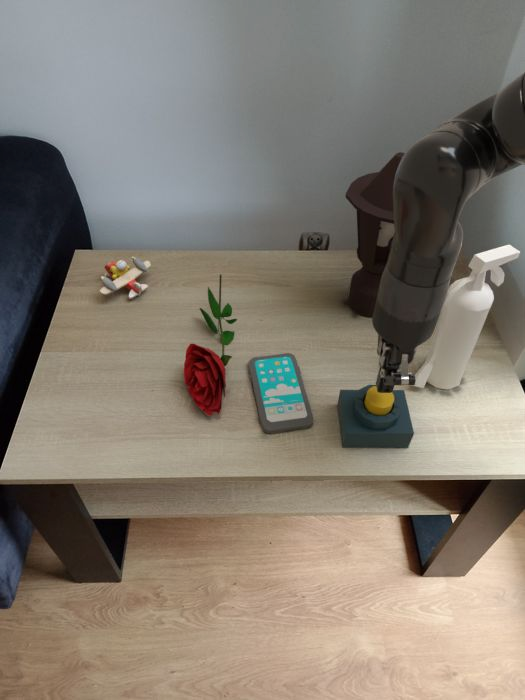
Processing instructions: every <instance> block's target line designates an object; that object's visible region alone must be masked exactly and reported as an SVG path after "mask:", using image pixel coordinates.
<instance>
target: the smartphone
mask: <svg viewBox="0 0 525 700" xmlns="http://www.w3.org/2000/svg"><path fill="white" fill-rule="evenodd" d="M300 369H301V368H300V366H299V364H298V361H297V358H296V356H295V354H293V353H291V352H290V353H289V352H286V353H285V352H284V353H278V354H270V355H263V356H254V357H252V358H250V359H249V361H248V373H249V376H250V382H251V384H252V389H253V394H254V398H255V403H256V408H257V412H258V417H259V421H260V426H261V428H262V430H263V431H264V432H265V433H266V434H277V433H283V432H290V431H291V432H292V431H296V430H297V431H298V430H304V429H309V428H311V427H312V426H313V425H314V415H313V410H312V407H311V404H310V401H309V398H308V393H307V391H306V388H305V384H304V381H303V377H302V372H301V370H300Z"/></svg>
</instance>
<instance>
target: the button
mask: <svg viewBox="0 0 525 700" xmlns="http://www.w3.org/2000/svg"><path fill="white" fill-rule="evenodd" d="M393 402H394V395H393V393H392V392H391V393H379V392H377V387H376V386H373V387H371V388H370V389H369V390H368V391H367V394H366V398H365V401H364V404H365V407H366V409H367V410H368V411H369V412H370V413H371V414H374V415H377V416H383V415H386V414H388V413H389V412H390V411H391V408H392V405H393Z"/></svg>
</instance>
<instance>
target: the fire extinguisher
mask: <svg viewBox="0 0 525 700" xmlns="http://www.w3.org/2000/svg"><path fill="white" fill-rule="evenodd" d="M520 254H521V251H520V250H518V248H515V247H514V246H513V245H511V244H506V245H503V246H498V247H495V248H492V249H489V250H485V251H482V252H478V253H475V254H474V255H472V256H473V257H472V258H471V260H470V262H469V264H468V265H467V266H468V268H470V269H471V272H470V274H469V275H468V276H467V277H466V276H465V277H462V278H459V279H457V280H454V282H453V283H451V284H450V285H449V289H448V293H447V296H446V299H445V302H444V304H443V307H442V310H441V313H440V315H439V318H438V321H437V324H436V326H435V329H434V332H433V335H432V340H431V342H430V346H429V350H428V351H427V355H426V358H425V362H424V363H423V364H422V365H421V366H420V368H419V369H418V370H417V372H416V373H415V374H414V376H415V379H416V382H415V385H411V386H412V387H416V388H420V389H424V388H425V386H426V383H428V384H429V385H431V386H433V387H434V388H435V389H440V390H441V389H442V390H446V391H447V390H448V391H450V390H452V389H454V388H457V387H459V386H460V384H461V382H462V379H463V376H464V375H465V371H466V369H467V367H468V364H469V362H470V359H471V356H472V354H473V352H474V350H475V347H476V344H477V342H478V339H479V337H480V336H481V335H480V334H481V333H482V330H483V327H484V325H485V322H486V319H487V318H488V315H489V313H490V310H491V308H492V305H493V302H494V300H495V296H494V291H493V289H492V288H491V287H490V285H489V283H487V282H485V281H486V274H487V272H488V271H490V281H491V282H492V283H493V284H494V285H495V286H496V287H500V286H501V285H503V283H504V282H505V275H506V274H505V272H504V269H503V268H502V267H500V266H502V265H504V264H506V263H509V262H511V261H514V260H516V259H518V258H519V256H520Z"/></svg>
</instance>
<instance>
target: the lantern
mask: <svg viewBox="0 0 525 700" xmlns="http://www.w3.org/2000/svg"><path fill="white" fill-rule="evenodd" d="M405 153H406V152H401V151H400V152H397V153H395V154H394V156H392V157H391V159H390V160H389V161H387V163H386V164H385V165H384V166H383V167H382V168H381V169H380V170H379V171H377V172H371V173H367V174H364V175H361V176H358V177H357V178H356V179H355V180H353V181H352V182H351V183H350V185H349V187H348V189H347V190H346V192H345V199H346V200H347V201H348V202H349V203H350V204H351V206H352V207H353V208H354V209H355V210H356V226H357V227H356V228H357V229H356V230H357V231H356V232H357V248H356V256H357V259H358V260H359V262H360V263H361V266H362V267H360V269H358V270H356V271H355V272H353V274H352V276H351V279H350V285H349V290H348V295H347V305H348V307H349V309H350V310H351V311H352V312H354V314H357V315H358V316H359V317H365V318H372V317H373V312H374V308H375V304H376V299H377V295H378V290H379V286H380V282H381V277H382V274H383V272H384V269H385V267H386V264H387V261H388V257H389V252H390V248H391V244H392V240H393V236H394V233H395V227H394V217H393V185H394V179H395V175H396V172H397V169H398V166H399V164H400V161H401V159H402V157H403V156H404V154H405Z"/></svg>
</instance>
